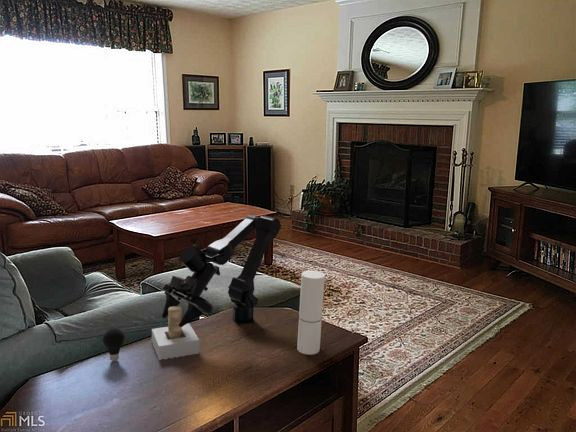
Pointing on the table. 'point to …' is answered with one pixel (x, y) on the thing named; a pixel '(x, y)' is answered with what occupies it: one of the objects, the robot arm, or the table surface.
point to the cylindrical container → (310, 312)
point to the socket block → (175, 343)
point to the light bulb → (113, 342)
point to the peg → (174, 322)
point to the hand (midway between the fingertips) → (171, 322)
